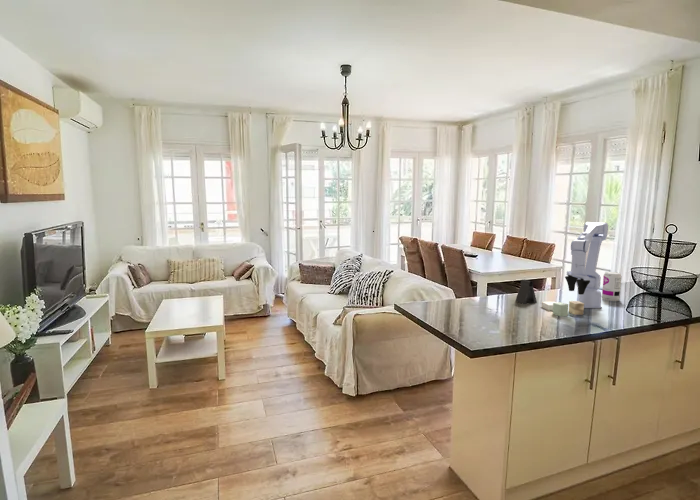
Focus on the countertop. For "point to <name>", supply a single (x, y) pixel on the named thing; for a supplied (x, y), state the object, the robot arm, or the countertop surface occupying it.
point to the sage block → (560, 309)
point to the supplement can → (611, 286)
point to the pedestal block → (548, 305)
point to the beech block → (576, 307)
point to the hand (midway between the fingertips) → (576, 292)
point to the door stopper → (526, 292)
